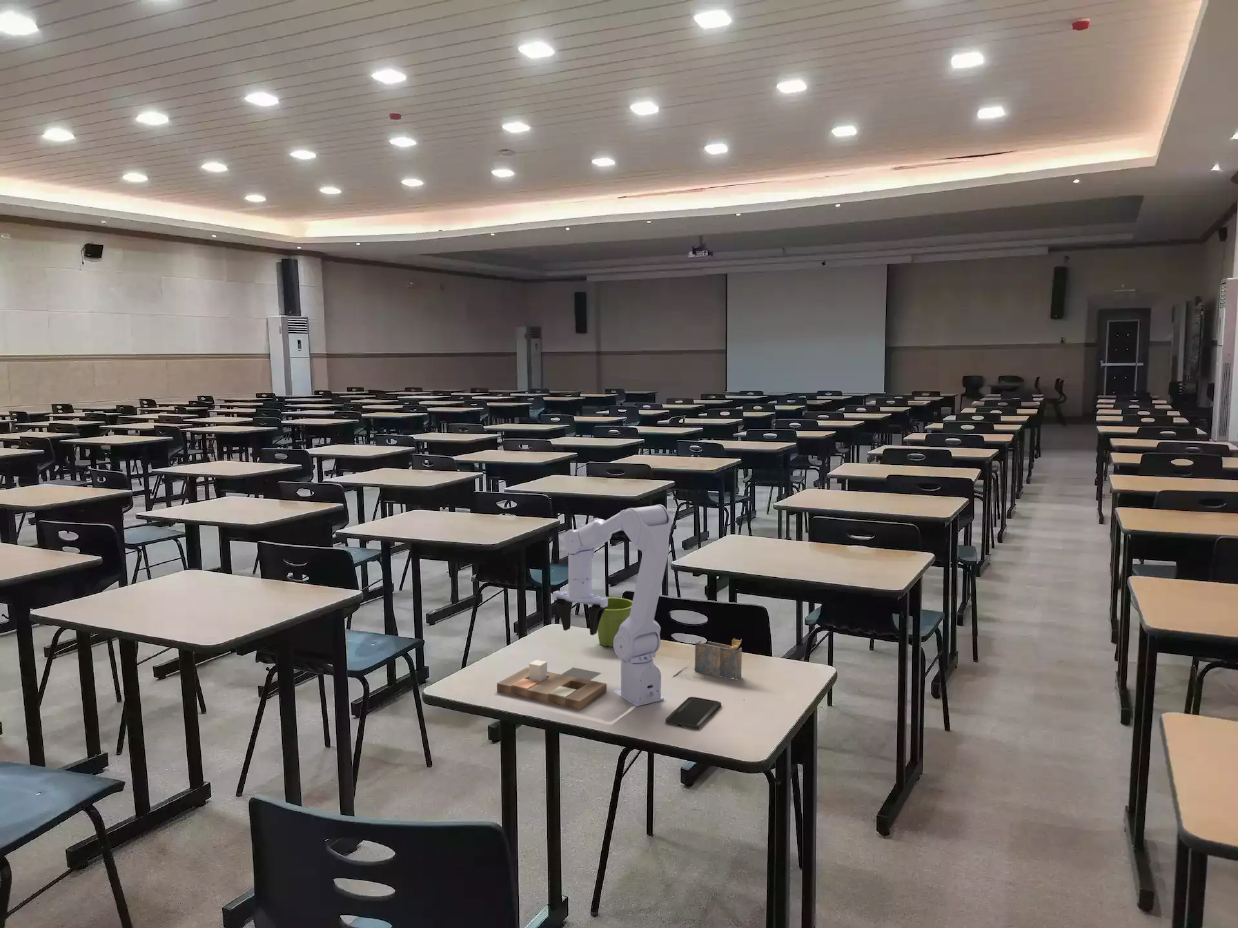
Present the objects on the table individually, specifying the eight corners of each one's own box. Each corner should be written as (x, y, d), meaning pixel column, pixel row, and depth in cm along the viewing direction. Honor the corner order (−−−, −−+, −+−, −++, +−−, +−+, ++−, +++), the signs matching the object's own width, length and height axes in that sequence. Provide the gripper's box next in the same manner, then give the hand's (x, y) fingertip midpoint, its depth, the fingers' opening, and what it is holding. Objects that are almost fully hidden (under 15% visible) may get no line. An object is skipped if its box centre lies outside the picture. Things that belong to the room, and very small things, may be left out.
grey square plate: (601, 675, 205) (601, 672, 205) (584, 685, 198) (584, 683, 198) (573, 669, 208) (573, 667, 208) (555, 679, 201) (555, 677, 201)
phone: (722, 701, 186) (698, 726, 173) (722, 706, 187) (698, 732, 173) (689, 695, 190) (663, 719, 177) (689, 700, 190) (663, 724, 177)
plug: (547, 686, 197) (547, 661, 196) (539, 690, 194) (539, 665, 194) (536, 684, 198) (536, 659, 198) (529, 688, 196) (529, 663, 195)
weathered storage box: (741, 678, 205) (742, 639, 204) (736, 681, 202) (737, 642, 201) (700, 668, 211) (701, 631, 210) (694, 672, 208) (695, 634, 207)
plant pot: (581, 643, 229) (581, 603, 227) (611, 634, 237) (611, 595, 236) (613, 653, 221) (614, 611, 220) (643, 643, 230) (643, 603, 228)
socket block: (606, 693, 193) (606, 682, 192) (579, 712, 182) (579, 700, 182) (526, 677, 203) (526, 666, 203) (497, 693, 192) (496, 682, 192)
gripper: (614, 577, 205) (613, 631, 207) (563, 570, 212) (563, 623, 214) (599, 583, 199) (599, 639, 201) (548, 576, 206) (548, 630, 207)
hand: (580, 631), depth 207 cm, fingers open, 7 cm apart
